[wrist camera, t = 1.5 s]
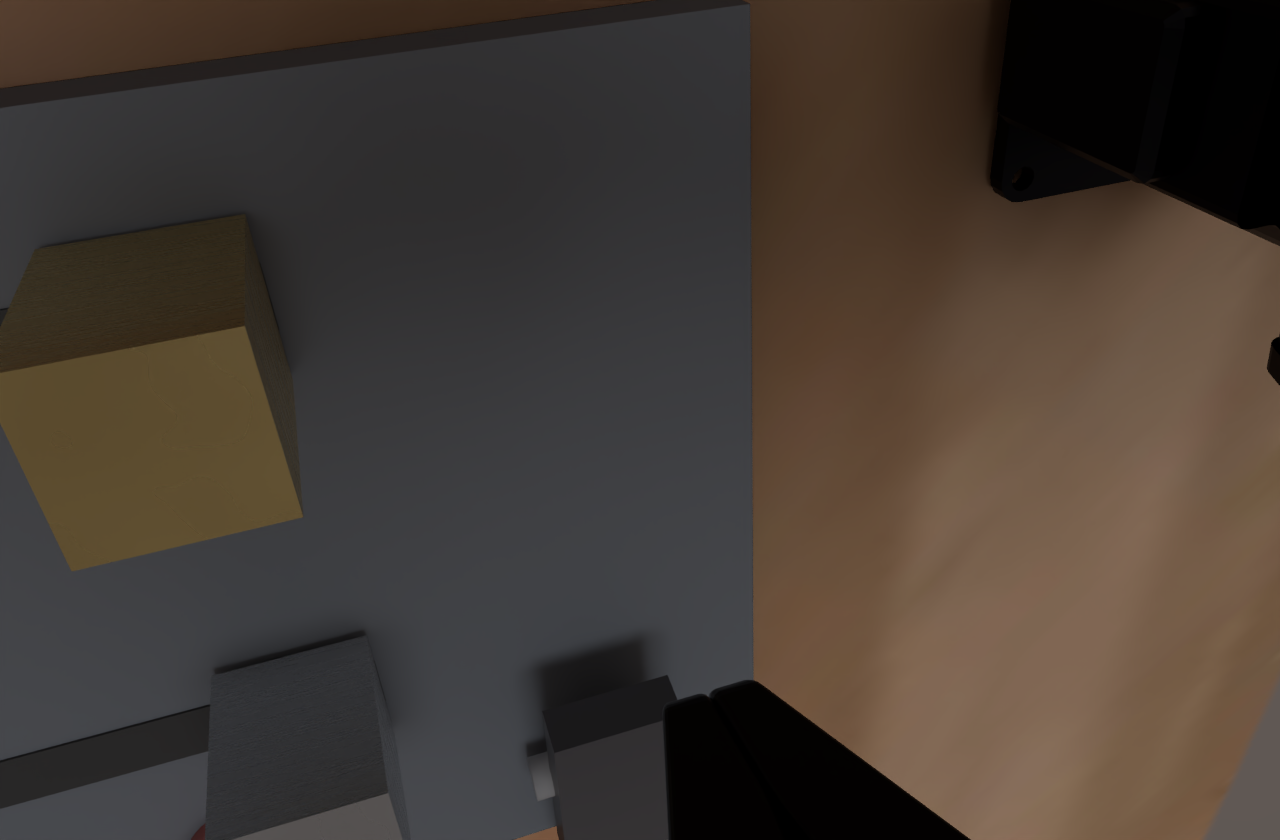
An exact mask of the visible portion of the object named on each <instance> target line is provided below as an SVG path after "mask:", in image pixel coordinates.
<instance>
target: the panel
mask: <svg viewBox="0 0 1280 840" xmlns="http://www.w3.org/2000/svg"><path fill="white" fill-rule="evenodd" d="M242 214H245V215H246V219H247V222H248V226H249V229H250V233H251V236H252V240H253V243H254V247H255V250H256V254H257V257H258V260H259V264H260V267H261V271H262V274H263V278H264V281H265V285H266V288H267V292H268V295H269V299H270V302H271V306H272V309H273V313H274V316H275V320H276V323H277V326H278V330H279V333H280V337H281V340H282V344H283V347H284V351H285V354H286V358H287V361H288V365H289V368H290V372H291V375H292V379H293V386H294V399H295V413H296V426H297V439H298V452H299V465H300V478H301V492H302V505H303V518H298V519H294V520H290V521H286V522H281V523H277V524H273V525H268V526H264V527H260V528H256V529H251V530H247V531H243V532H239V533H234V534H230V535H226V536H221V537H217V538H213V539H209V540H204V541H200V542H196V543H192V544H187V545H183V546H179V547H175V548H170V549H166V550H162V551H157V552H153V553H149V554H145V555H140V556H136V557H132V558H128V559H123V560H119V561H115V562H110V563H106V564H102V565H98V566H93V567H89V568H85V569H81V570H76V571H71V569H70V567H69V565H68V563H67V561H66V559H65V557H64V555H63V553H62V551H61V549H60V547H59V544H58V542H57V540H56V538H55V536H54V534H53V532H52V530H51V528H50V526H49V524H48V522H47V520H46V517H45V515H44V513H43V511H42V509H41V507H40V505H39V503H38V501H37V499H36V497H35V495H34V492H33V490H32V488H31V486H30V484H29V482H28V480H27V478H26V476H25V474H24V472H23V470H22V468H21V465H20V463H19V461H18V459H17V457H16V455H15V453H14V451H13V449H12V447H11V445H10V443H9V441H8V438H7V436H6V434H5V432H4V430H3V428H2V426H1V424H0V840H205V822H206V797H207V772H208V746H209V721H210V695H211V676H213V675H217V674H221V673H224V672H228V671H232V670H236V669H240V668H244V667H247V666H251V665H255V664H259V663H263V662H266V661H270V660H274V659H278V658H282V657H285V656H289V655H293V654H297V653H301V652H304V651H308V650H312V649H316V648H320V647H323V646H327V645H331V644H335V643H339V642H343V641H346V640H350V639H354V638H358V637H362V636H365V635H366V636H367V639H368V643H369V646H370V650H371V653H372V657H373V660H374V663H375V667H376V670H377V674H378V677H379V681H380V684H381V688H382V691H383V695H384V698H385V702H386V705H387V709H388V712H389V716H390V719H391V723H392V726H393V729H394V733H395V738H396V744H397V751H398V757H399V764H400V770H401V777H402V783H403V790H404V796H405V803H406V809H407V816H408V822H409V829H410V835H411V840H514V839H517V838H520V837H523V836H526V835H529V834H532V833H536V832H539V831H542V830H545V829H548V828H551V827H555V826H556V818H555V810H554V802H553V797H550V798H547V799H544V800H540V801H538V800H537V797H536V794H535V790H534V787H533V783H532V779H531V775H530V770H529V766H528V760H527V757H530V756H533V755H537V754H540V753H543V752H547V746H546V738H545V730H544V722H543V714H542V711H544V710H548V709H551V708H555V707H558V706H562V705H565V704H569V703H572V702H575V701H579V700H582V699H586V698H589V697H593V696H596V695H600V694H603V693H607V692H610V691H613V690H617V689H620V688H624V687H627V686H631V685H634V684H638V683H641V682H644V681H648V680H651V679H655V678H658V677H662V676H665V675H668V677H669V680H670V682H671V685H672V687H673V690H674V692H675V695H676V697H677V700H679V699H682V698H685V697H689V696H692V695H696V694H705V695H707V696H708V697H709V694H710V693H711V691H712V690H714V689H716V688H719V687H723V686H726V685H729V684H733V683H736V682H739V681H743V680H753V506H752V298H751V90H750V4H749V3H747V2H745V1H743V0H655V1H648V2H640V3H633V4H626V5H618V6H611V7H603V8H596V9H589V10H581V11H574V12H566V13H559V14H552V15H544V16H537V17H529V18H522V19H514V20H507V21H500V22H492V23H485V24H477V25H470V26H463V27H455V28H448V29H440V30H433V31H426V32H418V33H411V34H403V35H396V36H389V37H381V38H374V39H366V40H359V41H351V42H344V43H337V44H329V45H322V46H314V47H307V48H300V49H292V50H285V51H277V52H270V53H263V54H255V55H248V56H240V57H233V58H226V59H218V60H211V61H203V62H196V63H188V64H181V65H174V66H166V67H159V68H151V69H144V70H137V71H129V72H122V73H114V74H107V75H100V76H92V77H85V78H77V79H70V80H63V81H55V82H48V83H40V84H33V85H25V86H18V87H11V88H3V89H0V326H1V324H2V322H3V320H4V317H5V315H6V313H7V311H8V308H9V306H10V304H11V302H12V299H13V297H14V295H15V293H16V290H17V288H18V286H19V284H20V281H21V279H22V277H23V275H24V272H25V270H26V268H27V266H28V263H29V261H30V259H31V257H32V254H33V252H34V250H35V249H40V248H46V247H52V246H58V245H64V244H70V243H75V242H81V241H87V240H93V239H99V238H105V237H111V236H117V235H123V234H129V233H135V232H141V231H147V230H153V229H159V228H165V227H171V226H177V225H183V224H189V223H195V222H200V221H206V220H212V219H218V218H224V217H230V216H236V215H242Z"/></svg>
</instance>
